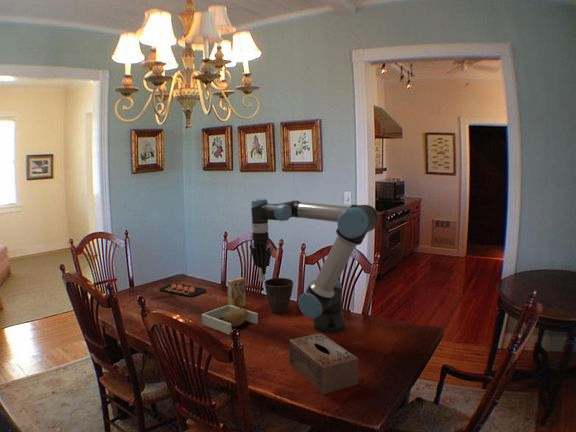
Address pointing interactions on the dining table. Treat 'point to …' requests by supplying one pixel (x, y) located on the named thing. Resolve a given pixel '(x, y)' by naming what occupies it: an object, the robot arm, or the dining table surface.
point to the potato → (235, 317)
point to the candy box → (236, 292)
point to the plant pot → (279, 294)
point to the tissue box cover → (323, 363)
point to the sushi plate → (192, 290)
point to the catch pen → (213, 321)
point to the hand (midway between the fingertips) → (262, 280)
